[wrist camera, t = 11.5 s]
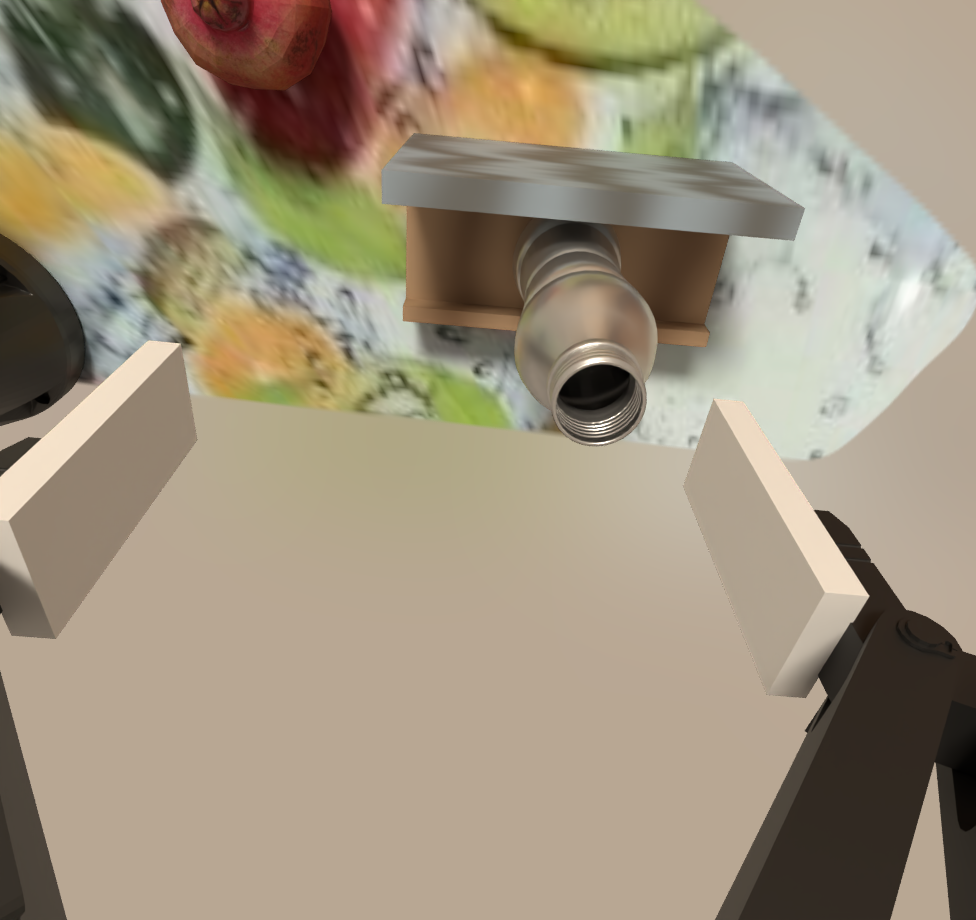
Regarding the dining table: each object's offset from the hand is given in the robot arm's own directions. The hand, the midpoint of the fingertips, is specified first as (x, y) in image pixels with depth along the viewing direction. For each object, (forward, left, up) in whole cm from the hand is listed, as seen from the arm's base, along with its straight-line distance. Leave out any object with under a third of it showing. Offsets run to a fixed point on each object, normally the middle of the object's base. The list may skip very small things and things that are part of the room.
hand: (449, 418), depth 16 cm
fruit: (-13, +8, -31) cm, 34 cm away
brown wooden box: (+5, -3, -30) cm, 31 cm away
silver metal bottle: (+5, -3, -27) cm, 28 cm away
